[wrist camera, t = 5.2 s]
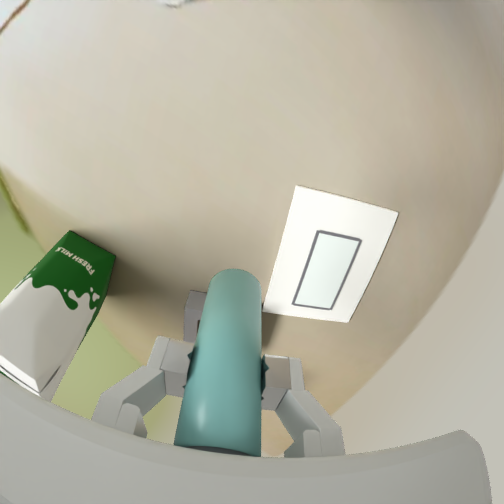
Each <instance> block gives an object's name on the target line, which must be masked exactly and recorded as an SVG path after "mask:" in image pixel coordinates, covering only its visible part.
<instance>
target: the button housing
mask: <svg viewBox="0 0 504 504" xmlns="http://www.w3.org/2000/svg"><path fill="white" fill-rule="evenodd" d="M206 296H207V293H203V292H198V291H192V290H190V293H189V296H188V299H187V302H186V305H185V313H184V341H185V342H189V343H194V344H195V341H196V337H197V333H198V329H199V324H200V320H201V316H202V312H203V308H204V304H205V300H206Z"/></svg>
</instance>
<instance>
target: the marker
mask: <svg viewBox="0 0 504 504" xmlns="http://www.w3.org/2000/svg"><path fill="white" fill-rule="evenodd" d="M174 445H176V446H180V447H185V448H191V449H196V450H202V451H209V452H216V453H223V454H232V455H242V456H255V457H261V286H260V283H259V281H258V280H257V279H256V278H255V277H254V276H253V275H252V274H250V273H249V272H246V271H244V270H240V269H227V270H223V271H221V272H219V273H217V274H216V275H215V276H214V277H213V278H212V279H211V281H210V284H209V288H208V292H207V296H206V300H205V304H204V308H203V312H202V316H201V320H200V324H199V329H198V333H197V337H196V341H195V347H194V352H193V357H192V361H191V363H190V370H189V375H188V379H187V383H186V386H185V391H184V395H183V400H182V405H181V410H180V415H179V419H178V425H177V429H176V435H175V440H174Z"/></svg>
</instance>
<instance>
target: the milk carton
mask: <svg viewBox="0 0 504 504" xmlns="http://www.w3.org/2000/svg"><path fill="white" fill-rule="evenodd" d="M115 257H116V256H115V255H113V254H111V253H109V252H107V251H106V250H104V249H102V248H100V247H98V246H96V245H95V244H93V243H91V242H89V241H87V240H86V239H84V238H82V237H80V236H79V235H77V234H75V233H73V232H72V231H70V230H69V231H68V232H67V233H66V234H65V235H64V236H63V237H62V238H61V239H60V240H59V242H58V243H57V244H56V245H55V246H54V247H53V248H52V249H51V250H50V251H49V252H48V253H47V254H46V255H45V256H44V258H43V259H42V260H41V261H40V262H39V263H38V264H37V265H36V266H35V267H34V268H33V269H32V270H31V271H30V272H29V273H28V274H27V275H26V276H25V277H24V278H23V279H22V280H21V281H20V282H19V283H18V285H17V286H16V287H15V288H14V289H13V290H12V291H11V292H10V293H9V294H8V296H7V297H6V298H5V299H4V300H3V302H2V303H1V304H0V373H1V374H2V375H4V376H6V377H7V378H9V379H10V380H12V381H13V382H15V383H17V384H18V385H20V386H22V387H23V388H25V389H27V390H29V391H30V392H32V393H34V394H36V395H38V396H40V397H42V398H43V399H45V400H47V401H49V402H51V400H52V398H53V396H54V394H55V392H56V390H57V388H58V386H59V384H60V382H61V380H62V378H63V376H64V374H65V372H66V370H67V368H68V367H69V365H70V363H71V361H72V359H73V357H74V355H75V354H76V352H77V350H78V348H79V346H80V345H81V343H82V341H83V339H84V337H85V336H86V334H87V332H88V330H89V329H90V327H91V325H92V323H93V322H94V320H95V318H96V317H97V315H98V313H99V311H100V308H101V306H102V304H103V302H104V299H105V297H106V294H107V289H108V285H109V281H110V277H111V273H112V269H113V265H114V261H115Z"/></svg>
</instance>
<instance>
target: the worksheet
mask: <svg viewBox="0 0 504 504" xmlns="http://www.w3.org/2000/svg"><path fill="white" fill-rule="evenodd" d="M397 216H398V212H397V211H393V210H390V209H387V208H383V207H380V206H377V205H373V204H370V203H366V202H362V201H359V200H355V199H351V198H348V197H344V196H340V195H336V194H332V193H328V192H324V191H320V190H316V189H311V188H307V187H303V186H298V185H296V188H295V192H294V196H293V200H292V203H291V207H290V211H289V215H288V218H287V222H286V226H285V230H284V233H283V237H282V241H281V244H280V248H279V252H278V255H277V259H276V262H275V266H274V270H273V273H272V277H271V280H270V284H269V287H268V291H267V294H266V298H265V301H264V305H263V308H262V312H268V313H275V314H282V315H289V316H296V317H304V318H312V319H320V320H329V321H338V322H347V323H348V322H349V320H350V318H351V316H352V314H353V312H354V310H355V308H356V307H357V305H358V303H359V301H360V299H361V297H362V295H363V293H364V291H365V289H366V287H367V285H368V283H369V281H370V279H371V276H372V274H373V272H374V270H375V268H376V266H377V264H378V261H379V259H380V257H381V255H382V252H383V250H384V248H385V245H386V243H387V241H388V238H389V236H390V234H391V231H392V229H393V226H394V224H395V221H396V219H397Z"/></svg>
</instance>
